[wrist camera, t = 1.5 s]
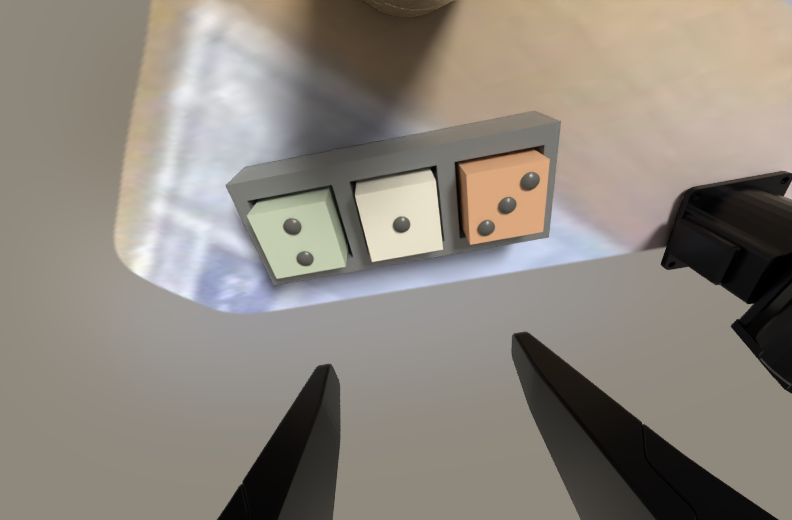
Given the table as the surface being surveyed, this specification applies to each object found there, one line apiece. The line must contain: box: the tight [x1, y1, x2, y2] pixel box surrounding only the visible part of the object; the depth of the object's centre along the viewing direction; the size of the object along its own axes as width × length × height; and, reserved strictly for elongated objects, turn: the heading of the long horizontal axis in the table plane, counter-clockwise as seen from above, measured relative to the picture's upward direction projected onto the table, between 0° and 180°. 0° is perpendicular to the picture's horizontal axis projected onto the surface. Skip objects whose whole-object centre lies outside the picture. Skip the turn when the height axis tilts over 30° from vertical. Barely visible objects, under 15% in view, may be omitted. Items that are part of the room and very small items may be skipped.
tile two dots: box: [247, 185, 349, 279], centre depth 18 cm, size 4×4×3 cm
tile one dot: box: [355, 167, 443, 262], centre depth 18 cm, size 4×4×3 cm
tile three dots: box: [456, 148, 550, 245], centre depth 18 cm, size 4×4×3 cm
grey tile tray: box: [225, 111, 561, 285], centre depth 19 cm, size 17×7×3 cm, turn 100°
